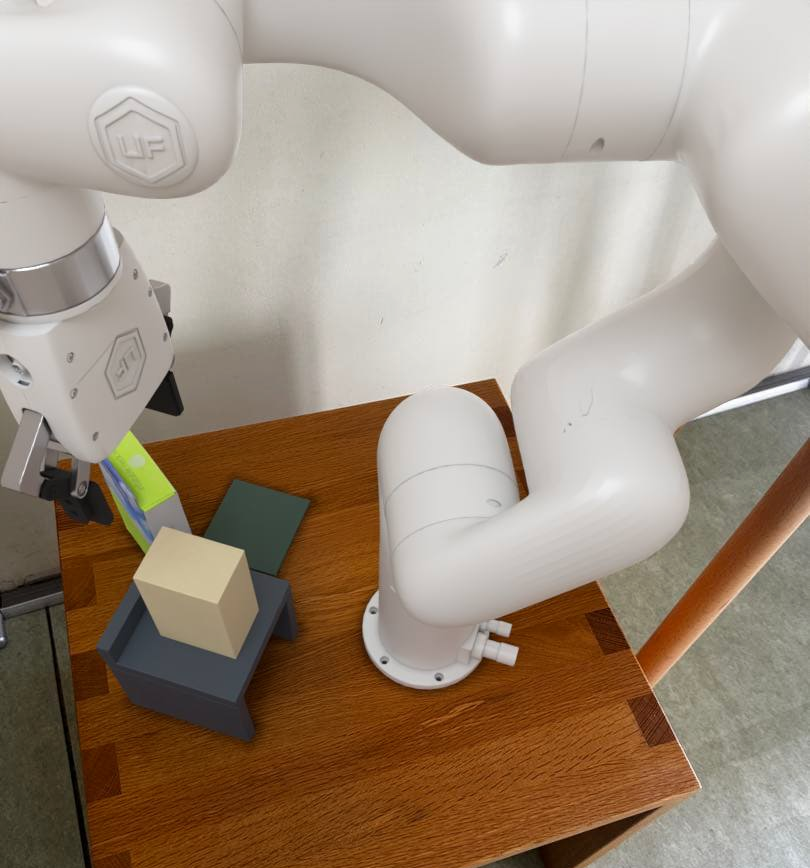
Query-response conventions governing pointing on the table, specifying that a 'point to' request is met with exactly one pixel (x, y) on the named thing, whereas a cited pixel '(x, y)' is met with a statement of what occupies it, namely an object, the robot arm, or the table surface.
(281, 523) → the mat
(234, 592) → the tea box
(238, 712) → the shelf
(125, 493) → the box
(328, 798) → the table surface
